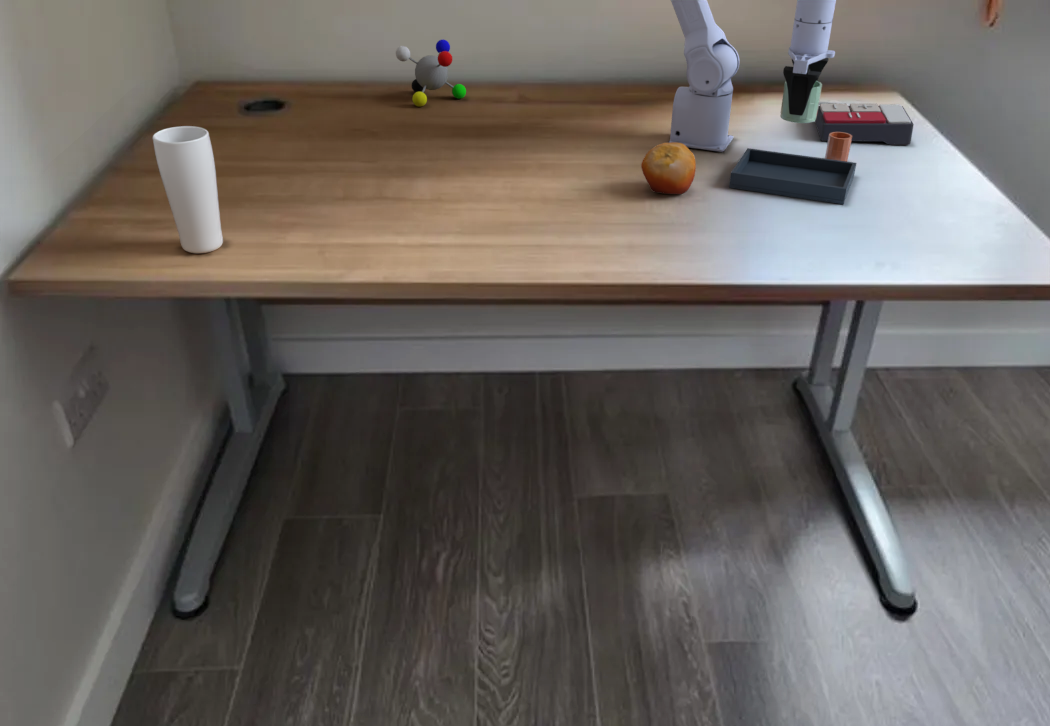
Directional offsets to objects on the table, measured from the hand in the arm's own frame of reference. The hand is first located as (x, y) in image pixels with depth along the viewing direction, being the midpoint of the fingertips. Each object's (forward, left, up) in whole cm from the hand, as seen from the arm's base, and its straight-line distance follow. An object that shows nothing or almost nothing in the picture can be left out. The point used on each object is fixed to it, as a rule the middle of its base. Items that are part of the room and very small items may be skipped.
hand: (799, 109), depth 157 cm
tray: (+2, -12, -8) cm, 14 cm away
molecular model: (-69, +5, -8) cm, 70 cm away
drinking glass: (-66, -67, -8) cm, 94 cm away
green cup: (0, 0, -1) cm, 1 cm away
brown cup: (+7, 0, -8) cm, 11 cm away
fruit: (-15, -23, -8) cm, 29 cm away
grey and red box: (+9, +17, -8) cm, 21 cm away
